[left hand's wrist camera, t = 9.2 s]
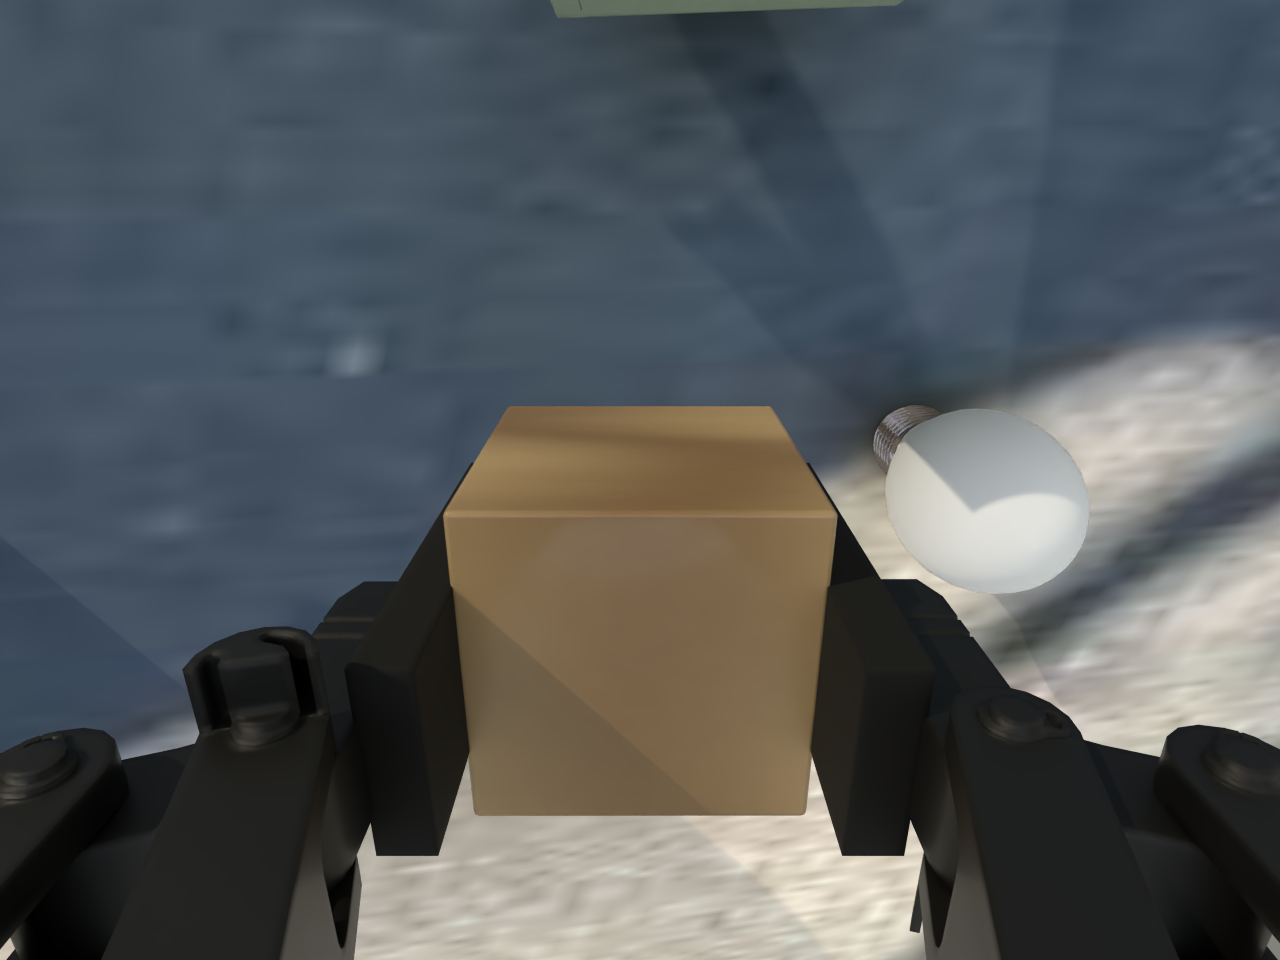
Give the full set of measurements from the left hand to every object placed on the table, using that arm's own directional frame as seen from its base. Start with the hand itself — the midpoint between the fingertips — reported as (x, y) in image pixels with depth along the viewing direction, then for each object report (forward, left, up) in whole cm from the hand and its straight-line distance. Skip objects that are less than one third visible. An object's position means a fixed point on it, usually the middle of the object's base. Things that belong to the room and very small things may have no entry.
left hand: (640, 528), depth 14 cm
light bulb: (+13, -5, -20) cm, 24 cm away
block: (0, 0, 0) cm, 0 cm away
